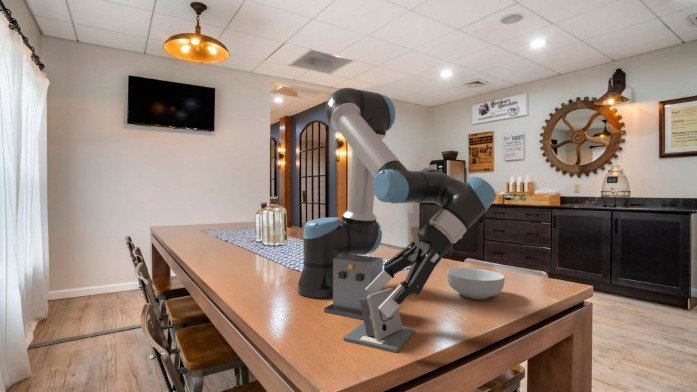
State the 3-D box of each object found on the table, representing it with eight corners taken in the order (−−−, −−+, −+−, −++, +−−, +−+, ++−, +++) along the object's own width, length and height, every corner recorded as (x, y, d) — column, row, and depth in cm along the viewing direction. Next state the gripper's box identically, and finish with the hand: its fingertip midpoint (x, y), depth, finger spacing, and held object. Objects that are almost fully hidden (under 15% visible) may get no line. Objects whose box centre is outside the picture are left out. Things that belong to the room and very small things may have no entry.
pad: (343, 340, 75) (343, 337, 75) (367, 322, 85) (367, 319, 85) (396, 352, 69) (396, 349, 69) (414, 331, 80) (414, 328, 80)
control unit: (324, 312, 92) (324, 259, 92) (345, 299, 103) (346, 252, 103) (372, 321, 86) (372, 264, 86) (390, 307, 96) (390, 257, 96)
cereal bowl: (477, 307, 97) (477, 282, 97) (435, 292, 112) (436, 270, 112) (516, 299, 105) (516, 275, 105) (473, 286, 120) (473, 265, 120)
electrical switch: (378, 342, 72) (375, 296, 73) (359, 337, 76) (356, 294, 76) (403, 329, 79) (400, 288, 80) (384, 326, 83) (382, 286, 83)
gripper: (480, 254, 67) (404, 336, 65) (430, 238, 92) (374, 297, 90) (454, 227, 66) (376, 309, 64) (411, 218, 91) (354, 277, 89)
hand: (375, 302), depth 77 cm, fingers open, 13 cm apart
